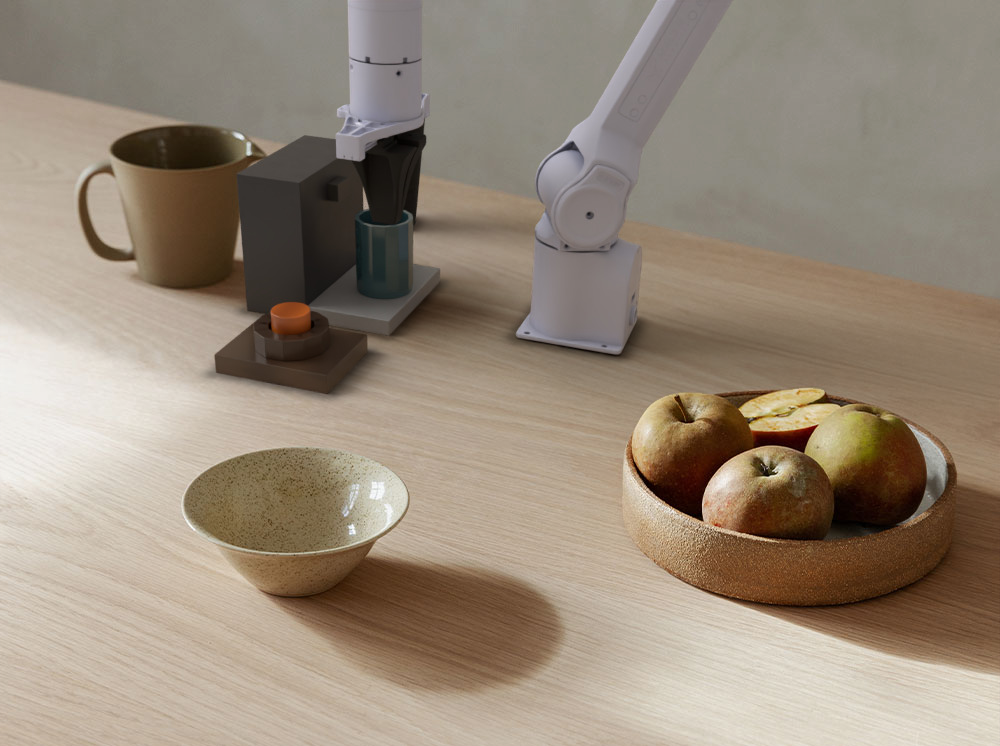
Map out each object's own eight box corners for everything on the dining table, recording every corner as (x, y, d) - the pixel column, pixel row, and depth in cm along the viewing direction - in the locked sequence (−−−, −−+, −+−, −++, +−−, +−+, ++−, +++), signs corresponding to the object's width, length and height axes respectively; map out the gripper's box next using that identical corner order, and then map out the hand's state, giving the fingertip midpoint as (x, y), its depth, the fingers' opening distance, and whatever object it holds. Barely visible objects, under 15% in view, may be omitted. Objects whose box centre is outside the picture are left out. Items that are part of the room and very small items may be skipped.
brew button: (317, 324, 92) (317, 305, 91) (300, 340, 89) (299, 320, 88) (283, 318, 93) (282, 299, 92) (264, 333, 90) (263, 314, 89)
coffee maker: (440, 282, 108) (441, 152, 102) (389, 336, 97) (387, 195, 91) (310, 261, 112) (304, 134, 106) (246, 311, 101) (236, 173, 95)
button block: (368, 352, 94) (367, 314, 93) (327, 394, 88) (325, 355, 86) (262, 333, 97) (260, 296, 95) (215, 372, 90) (212, 334, 89)
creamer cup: (421, 281, 104) (421, 211, 101) (399, 303, 100) (399, 230, 97) (370, 273, 106) (369, 203, 102) (347, 294, 101) (345, 222, 98)
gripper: (375, 35, 94) (377, 188, 100) (296, 69, 81) (304, 242, 88) (453, 44, 92) (450, 199, 98) (384, 80, 80) (386, 255, 86)
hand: (386, 220), depth 93 cm, fingers closed
